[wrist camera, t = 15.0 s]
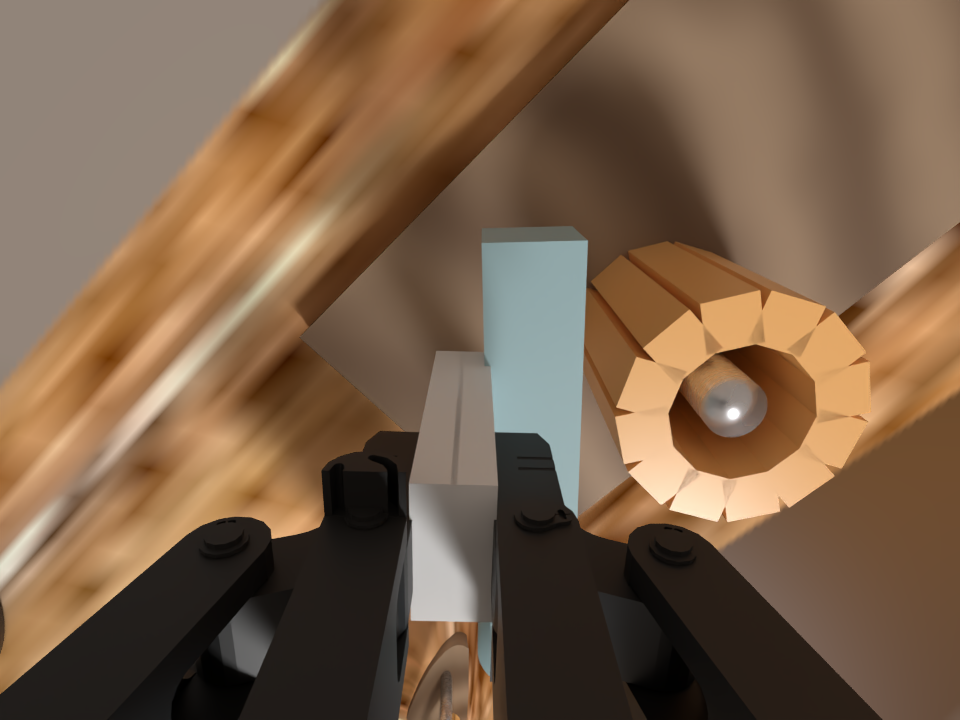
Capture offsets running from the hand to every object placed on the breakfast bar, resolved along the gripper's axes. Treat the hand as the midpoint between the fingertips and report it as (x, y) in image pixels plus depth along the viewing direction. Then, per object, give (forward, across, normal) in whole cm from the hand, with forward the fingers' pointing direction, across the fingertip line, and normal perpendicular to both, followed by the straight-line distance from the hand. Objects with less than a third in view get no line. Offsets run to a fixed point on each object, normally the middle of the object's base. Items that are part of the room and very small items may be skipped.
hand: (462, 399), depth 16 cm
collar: (+11, +9, -1) cm, 14 cm away
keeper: (+1, +2, -2) cm, 3 cm away
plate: (+12, +9, +3) cm, 15 cm away
